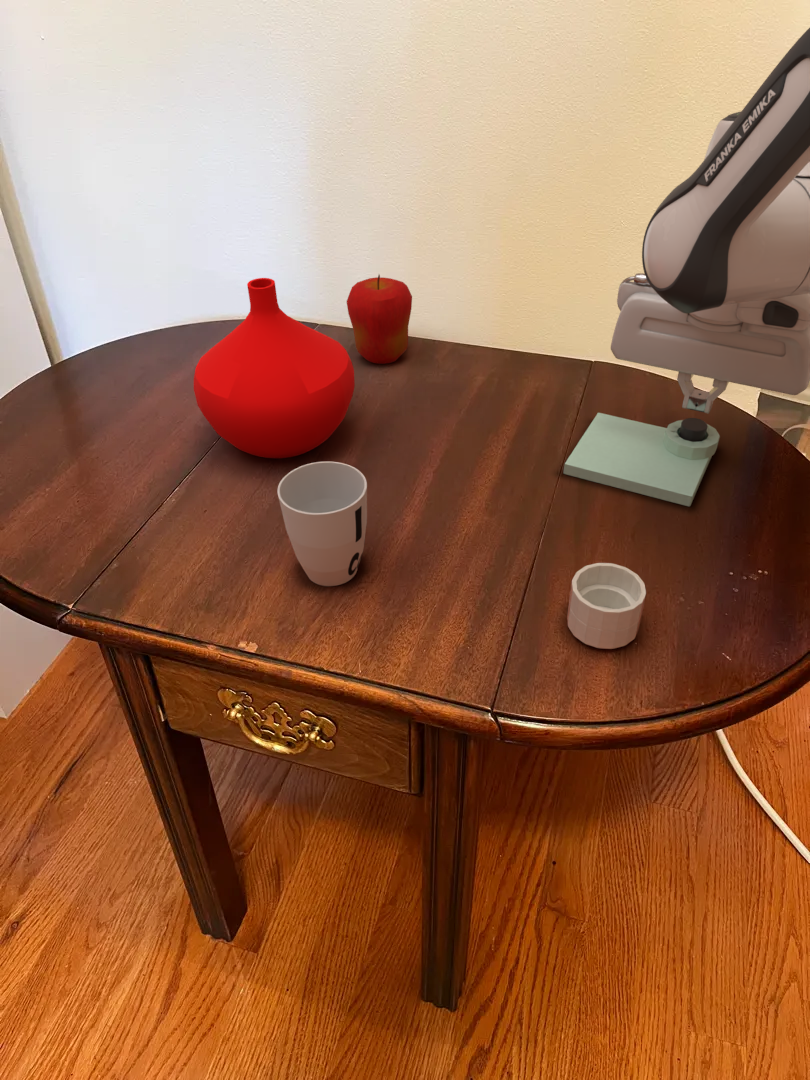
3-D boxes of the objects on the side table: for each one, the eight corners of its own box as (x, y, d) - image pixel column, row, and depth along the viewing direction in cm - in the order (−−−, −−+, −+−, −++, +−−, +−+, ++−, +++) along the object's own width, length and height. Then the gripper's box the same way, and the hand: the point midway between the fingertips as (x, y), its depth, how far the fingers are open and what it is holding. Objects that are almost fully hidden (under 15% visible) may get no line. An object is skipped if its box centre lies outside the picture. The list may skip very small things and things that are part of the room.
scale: (718, 449, 96) (723, 426, 95) (693, 508, 88) (698, 484, 86) (597, 420, 102) (600, 399, 100) (563, 473, 94) (565, 451, 92)
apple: (415, 342, 119) (413, 261, 111) (410, 371, 113) (408, 287, 105) (355, 341, 120) (349, 260, 112) (347, 369, 113) (340, 286, 106)
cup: (370, 596, 79) (364, 513, 73) (285, 597, 79) (271, 514, 73) (374, 541, 85) (368, 460, 79) (295, 542, 86) (283, 461, 79)
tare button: (707, 432, 94) (710, 421, 93) (701, 445, 92) (704, 433, 91) (682, 427, 95) (684, 415, 94) (676, 439, 93) (678, 427, 92)
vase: (360, 475, 94) (348, 315, 82) (197, 485, 94) (160, 326, 82) (356, 393, 108) (346, 247, 96) (214, 401, 108) (185, 255, 96)
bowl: (645, 616, 76) (654, 575, 73) (625, 662, 72) (634, 621, 69) (579, 595, 78) (585, 555, 75) (556, 638, 74) (562, 597, 71)
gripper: (612, 281, 85) (595, 401, 93) (829, 318, 77) (789, 444, 86) (630, 259, 89) (612, 375, 98) (837, 292, 81) (798, 415, 90)
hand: (696, 408), depth 92 cm, fingers closed
